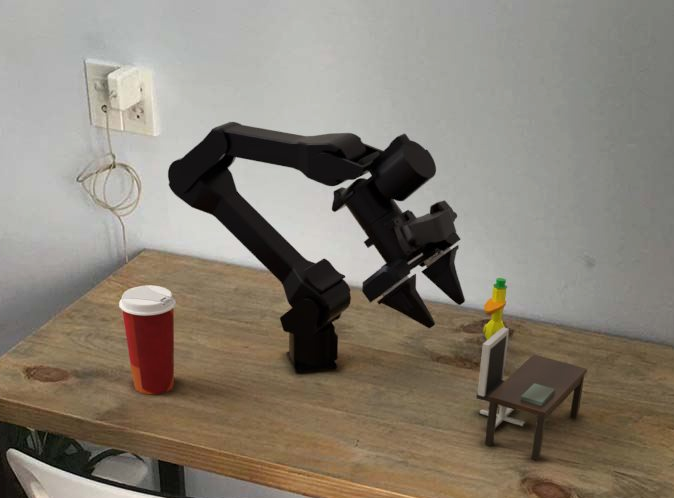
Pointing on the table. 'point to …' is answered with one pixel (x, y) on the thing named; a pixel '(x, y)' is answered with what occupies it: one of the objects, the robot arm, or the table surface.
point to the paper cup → (150, 337)
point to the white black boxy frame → (495, 373)
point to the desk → (537, 393)
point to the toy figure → (495, 308)
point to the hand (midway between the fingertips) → (447, 314)
